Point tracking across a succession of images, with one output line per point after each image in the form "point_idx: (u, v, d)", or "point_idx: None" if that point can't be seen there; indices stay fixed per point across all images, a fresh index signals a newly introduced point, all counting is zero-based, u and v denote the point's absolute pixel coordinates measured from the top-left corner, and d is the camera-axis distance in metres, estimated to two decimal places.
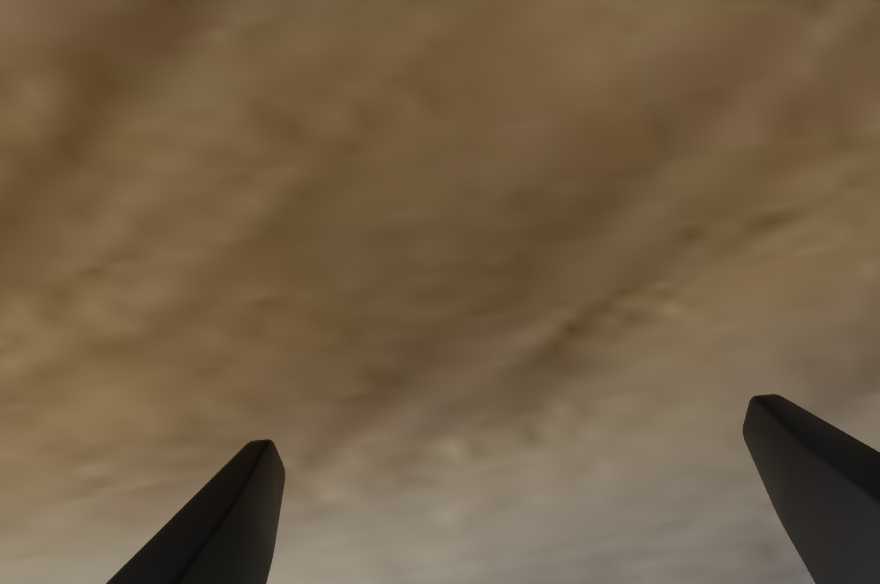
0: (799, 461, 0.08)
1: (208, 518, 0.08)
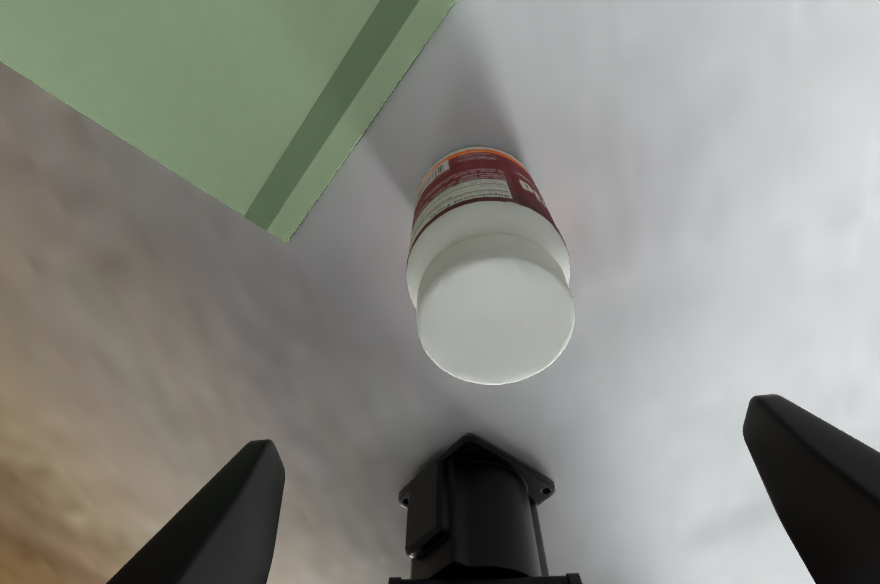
0: (799, 461, 0.08)
1: (208, 518, 0.08)
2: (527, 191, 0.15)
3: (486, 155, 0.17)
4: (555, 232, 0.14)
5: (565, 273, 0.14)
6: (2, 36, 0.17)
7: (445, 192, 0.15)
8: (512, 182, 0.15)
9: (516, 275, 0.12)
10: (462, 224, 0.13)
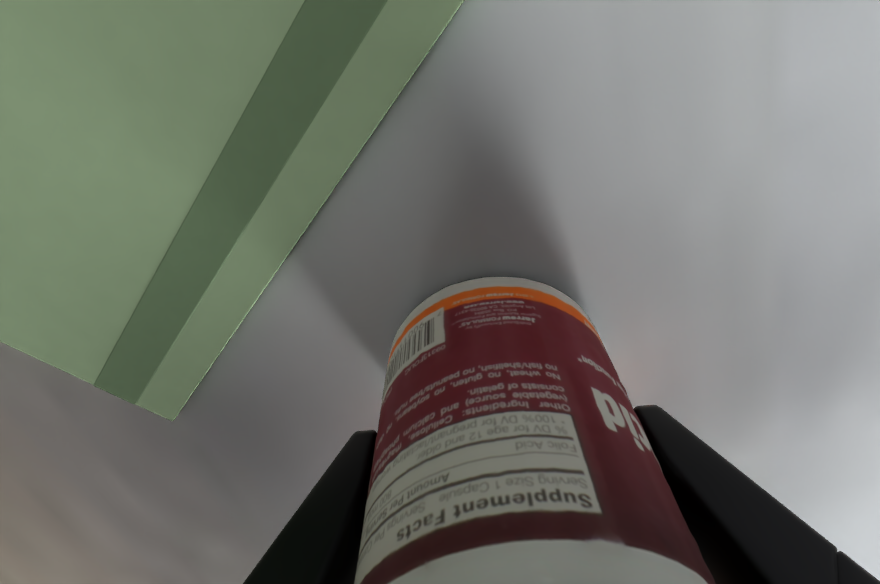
0: None
1: (337, 508, 0.08)
2: (617, 435, 0.07)
3: (516, 309, 0.09)
4: None
5: None
6: None
7: (436, 441, 0.07)
8: (583, 414, 0.07)
9: None
10: None
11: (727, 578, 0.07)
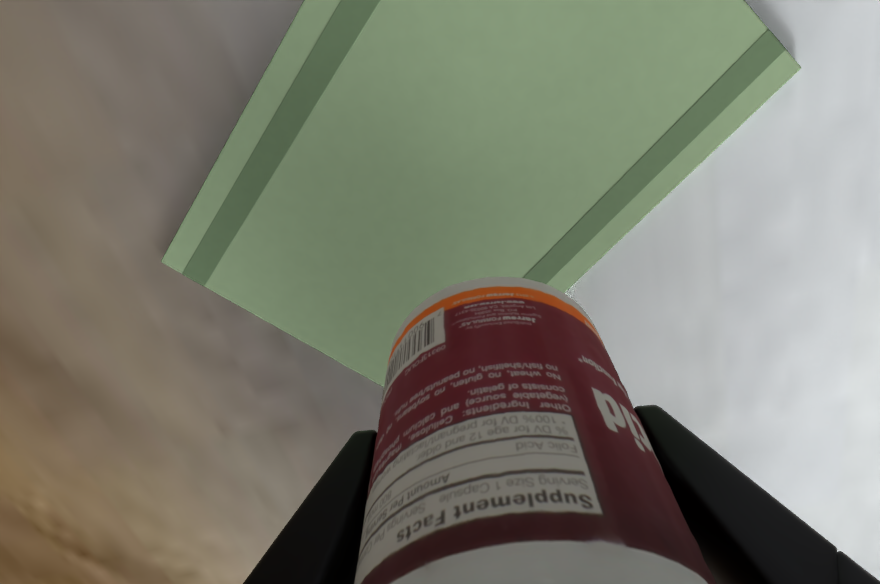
0: None
1: (337, 508, 0.08)
2: (618, 435, 0.07)
3: (517, 309, 0.09)
4: None
5: None
6: (237, 286, 0.21)
7: (436, 441, 0.07)
8: (584, 414, 0.07)
9: None
10: None
11: (727, 578, 0.07)
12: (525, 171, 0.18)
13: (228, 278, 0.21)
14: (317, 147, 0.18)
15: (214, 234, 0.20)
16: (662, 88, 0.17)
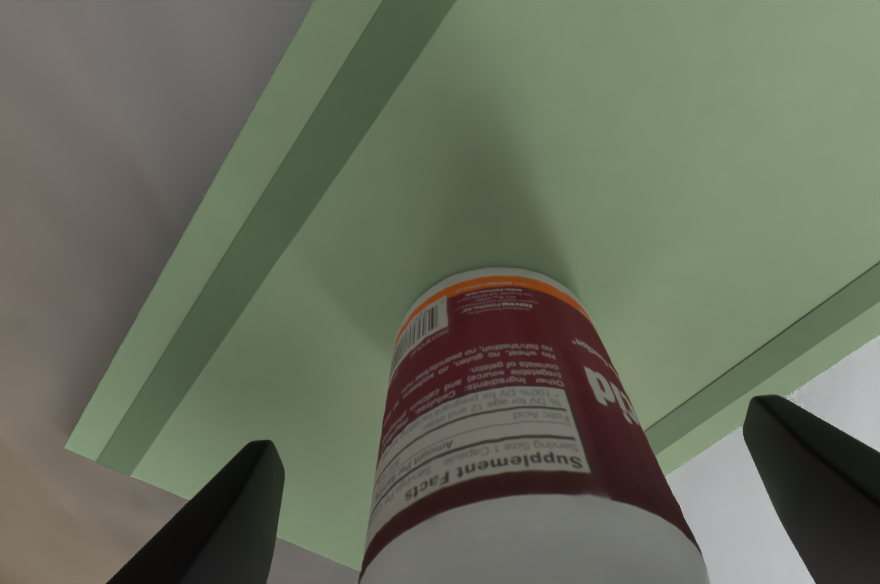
0: (799, 461, 0.08)
1: (208, 518, 0.08)
2: (607, 408, 0.07)
3: (515, 296, 0.10)
4: (690, 552, 0.06)
5: None
6: (177, 476, 0.14)
7: (440, 413, 0.07)
8: (576, 389, 0.08)
9: None
10: (478, 563, 0.06)
11: None
12: (612, 339, 0.12)
13: (164, 467, 0.14)
14: (289, 308, 0.11)
15: (139, 416, 0.13)
16: (848, 228, 0.10)
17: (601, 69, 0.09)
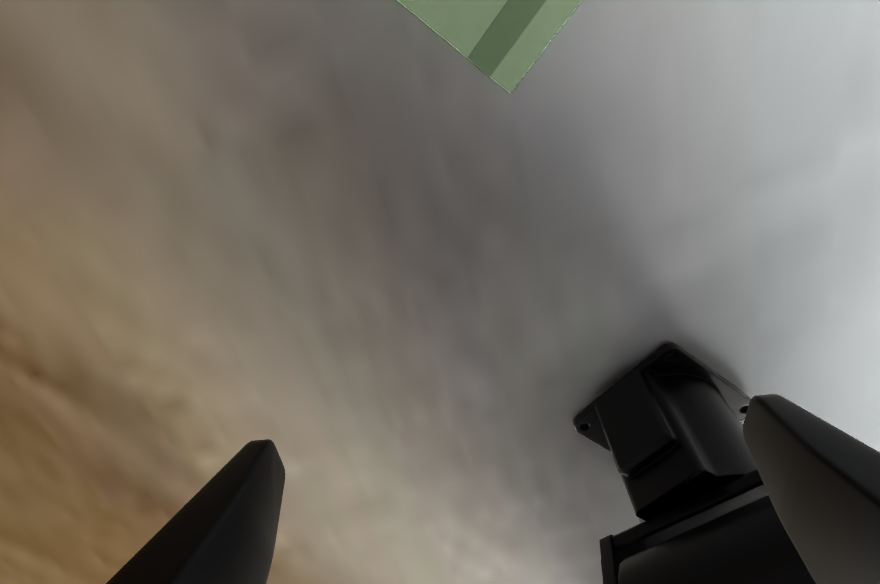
0: (799, 461, 0.08)
1: (208, 518, 0.08)
2: None
3: None
4: None
5: None
6: None
7: None
8: None
9: None
10: None
11: None
12: None
13: None
14: None
15: None
16: None
17: None
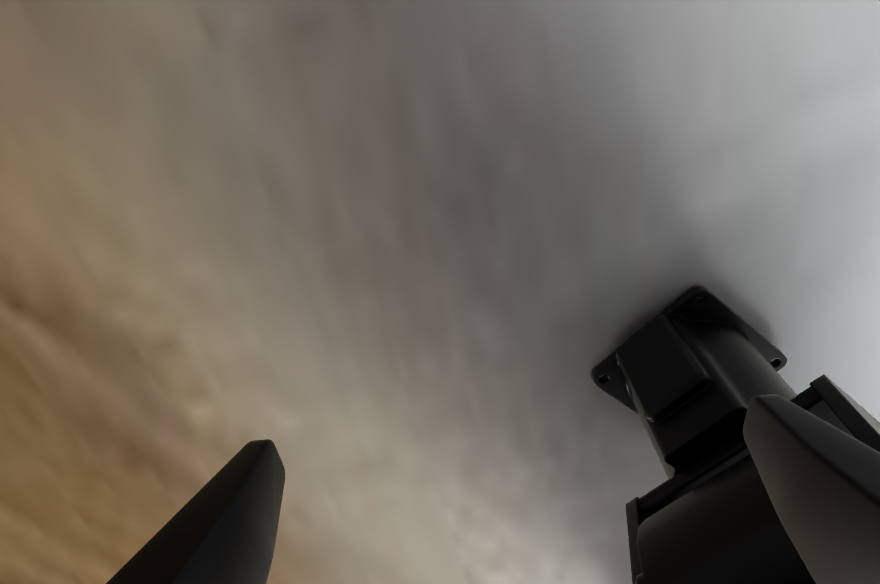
0: (799, 461, 0.08)
1: (208, 518, 0.08)
2: None
3: None
4: None
5: None
6: None
7: None
8: None
9: None
10: None
11: None
12: None
13: None
14: None
15: None
16: None
17: None
